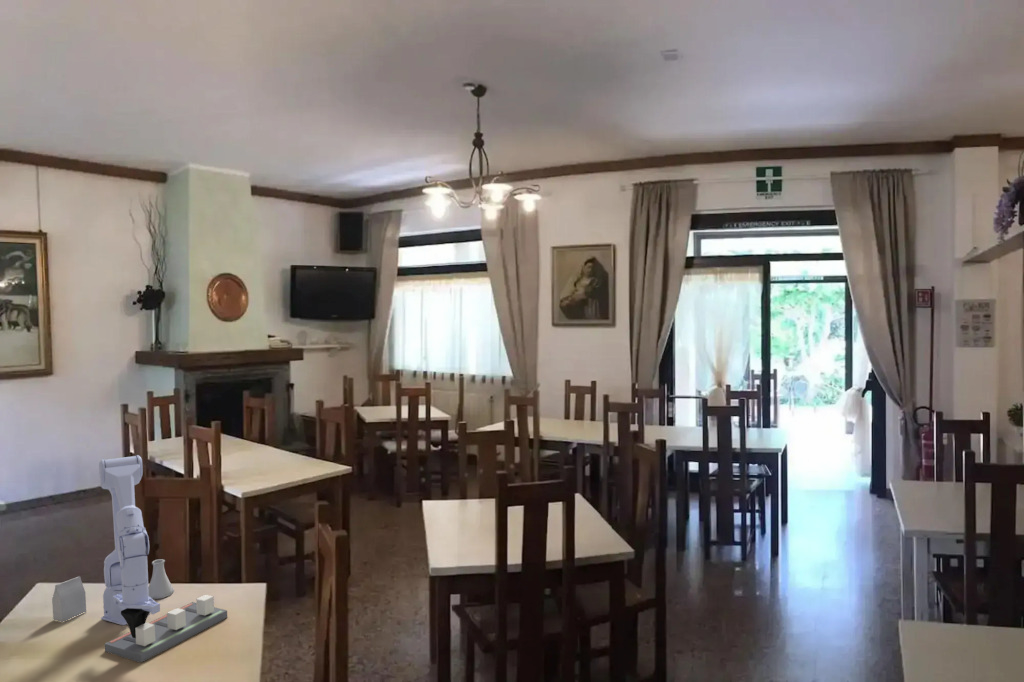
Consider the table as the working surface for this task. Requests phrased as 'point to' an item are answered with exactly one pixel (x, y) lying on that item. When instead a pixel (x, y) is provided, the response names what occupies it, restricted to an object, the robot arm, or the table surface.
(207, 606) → the switch far
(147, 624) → the switch
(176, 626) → the switch middle
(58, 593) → the grey paper bag
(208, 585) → the table surface
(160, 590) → the flask
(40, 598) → the table surface
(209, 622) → the panel
